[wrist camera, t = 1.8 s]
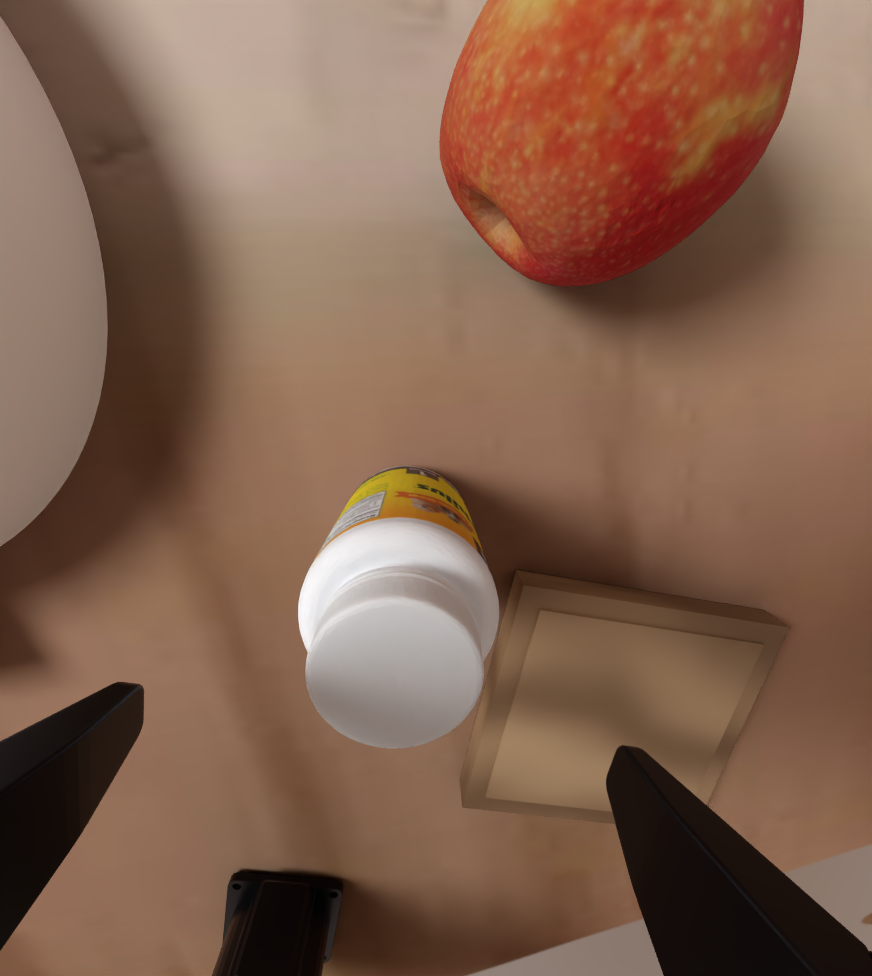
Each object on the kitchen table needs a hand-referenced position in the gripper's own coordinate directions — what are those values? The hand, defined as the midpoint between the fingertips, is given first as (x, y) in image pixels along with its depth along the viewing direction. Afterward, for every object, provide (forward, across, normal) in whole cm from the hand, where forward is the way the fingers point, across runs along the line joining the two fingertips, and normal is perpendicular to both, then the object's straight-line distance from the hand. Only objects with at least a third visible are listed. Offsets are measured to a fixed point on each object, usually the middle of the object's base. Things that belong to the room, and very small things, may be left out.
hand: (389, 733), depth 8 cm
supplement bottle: (+12, 0, 0) cm, 12 cm away
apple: (+12, -3, -14) cm, 19 cm away
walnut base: (+12, -12, +8) cm, 18 cm away
